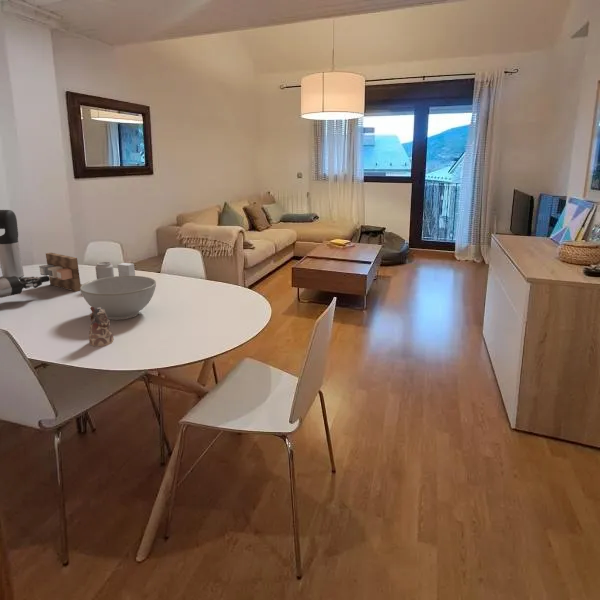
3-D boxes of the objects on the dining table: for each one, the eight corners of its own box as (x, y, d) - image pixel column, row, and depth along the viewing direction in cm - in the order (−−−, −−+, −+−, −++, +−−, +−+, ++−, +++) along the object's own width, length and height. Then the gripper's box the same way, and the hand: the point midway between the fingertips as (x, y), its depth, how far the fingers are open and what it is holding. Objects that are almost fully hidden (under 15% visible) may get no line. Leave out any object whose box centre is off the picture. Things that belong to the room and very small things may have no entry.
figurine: (100, 347, 143) (96, 311, 140) (84, 344, 146) (79, 308, 142) (118, 340, 149) (114, 305, 146) (102, 336, 152) (98, 302, 149)
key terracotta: (56, 279, 202) (55, 270, 200) (70, 276, 207) (69, 267, 206) (61, 280, 199) (60, 271, 198) (75, 277, 205) (74, 268, 203)
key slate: (39, 274, 209) (38, 266, 208) (53, 272, 214) (52, 263, 213) (44, 275, 207) (43, 267, 206) (58, 273, 212) (56, 264, 211)
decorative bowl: (170, 306, 184) (168, 277, 181) (134, 329, 159) (131, 296, 156) (111, 302, 190) (108, 273, 186) (67, 323, 165) (63, 291, 161)
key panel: (50, 284, 215) (45, 253, 211) (63, 281, 220) (59, 251, 216) (76, 291, 204) (71, 258, 200) (89, 288, 210) (85, 256, 205)
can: (118, 286, 213) (115, 261, 210) (110, 290, 206) (107, 264, 203) (103, 285, 214) (100, 260, 211) (94, 290, 207) (91, 264, 204)
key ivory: (48, 276, 205) (46, 268, 204) (61, 274, 210) (60, 265, 209) (53, 278, 203) (51, 269, 202) (66, 275, 208) (65, 266, 207)
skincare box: (136, 288, 210) (134, 263, 206) (130, 291, 206) (128, 265, 202) (126, 287, 212) (123, 262, 208) (119, 290, 208) (117, 264, 204)
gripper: (-1, 293, 186) (41, 284, 200) (15, 298, 180) (58, 289, 193) (-5, 275, 184) (38, 267, 198) (12, 280, 177) (55, 272, 191)
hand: (48, 278), depth 196 cm, fingers closed
